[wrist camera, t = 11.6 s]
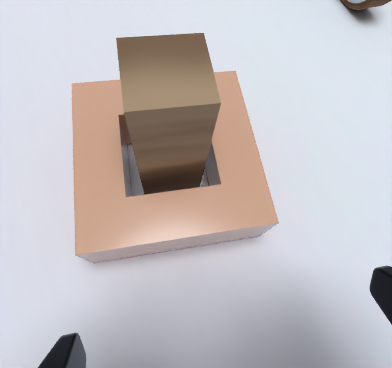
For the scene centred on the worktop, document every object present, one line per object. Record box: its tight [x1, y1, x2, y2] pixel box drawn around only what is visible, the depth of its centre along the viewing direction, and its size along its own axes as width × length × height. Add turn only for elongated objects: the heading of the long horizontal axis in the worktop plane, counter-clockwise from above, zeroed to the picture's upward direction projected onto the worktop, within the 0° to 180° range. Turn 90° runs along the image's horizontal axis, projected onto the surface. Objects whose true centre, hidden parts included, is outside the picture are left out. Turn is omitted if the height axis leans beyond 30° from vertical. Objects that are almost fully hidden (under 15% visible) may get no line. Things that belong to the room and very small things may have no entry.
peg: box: [116, 33, 221, 195], centre depth 17 cm, size 4×4×11 cm
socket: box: [72, 71, 279, 263], centre depth 21 cm, size 12×12×4 cm
